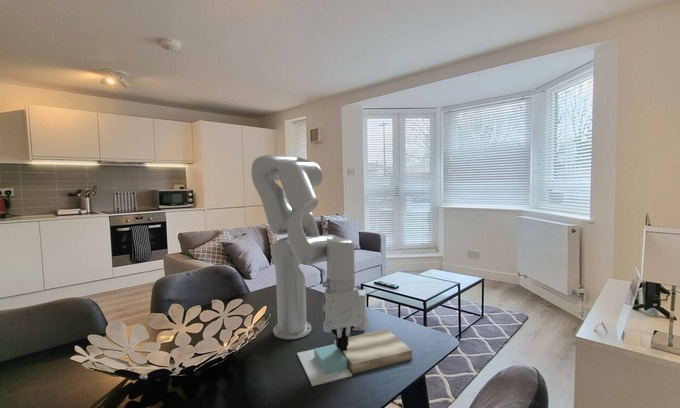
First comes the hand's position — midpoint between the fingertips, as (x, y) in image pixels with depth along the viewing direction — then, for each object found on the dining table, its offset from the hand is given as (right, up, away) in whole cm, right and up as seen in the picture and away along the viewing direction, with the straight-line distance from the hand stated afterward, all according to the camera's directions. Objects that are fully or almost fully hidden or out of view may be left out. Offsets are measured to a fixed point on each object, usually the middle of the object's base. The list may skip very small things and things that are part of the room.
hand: (342, 348), depth 90 cm
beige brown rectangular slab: (+8, -3, +3) cm, 10 cm away
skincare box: (+6, -2, +21) cm, 22 cm away
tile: (-3, -2, -2) cm, 4 cm away
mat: (-5, -3, -2) cm, 7 cm away
